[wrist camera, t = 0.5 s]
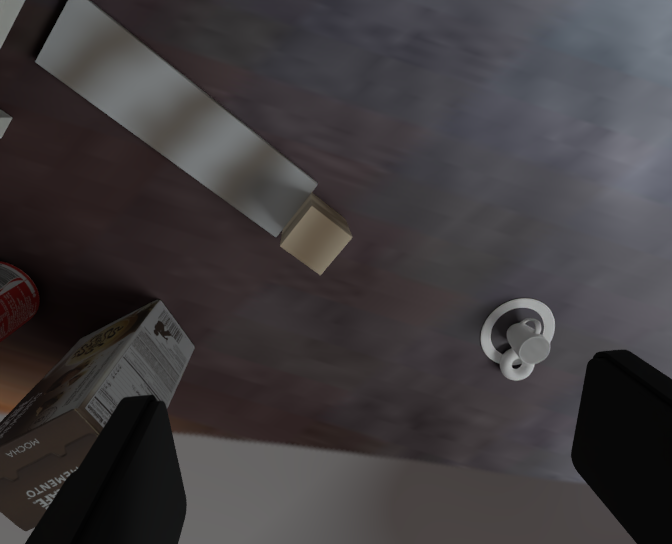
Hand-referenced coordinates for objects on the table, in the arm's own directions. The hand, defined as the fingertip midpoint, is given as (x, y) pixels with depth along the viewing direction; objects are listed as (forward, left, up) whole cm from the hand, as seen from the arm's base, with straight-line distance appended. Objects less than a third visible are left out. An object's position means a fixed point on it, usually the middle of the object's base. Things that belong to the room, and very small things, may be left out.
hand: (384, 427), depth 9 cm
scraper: (+3, -10, -30) cm, 31 cm away
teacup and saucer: (+2, +24, -30) cm, 39 cm away
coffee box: (+23, -5, -30) cm, 38 cm away
